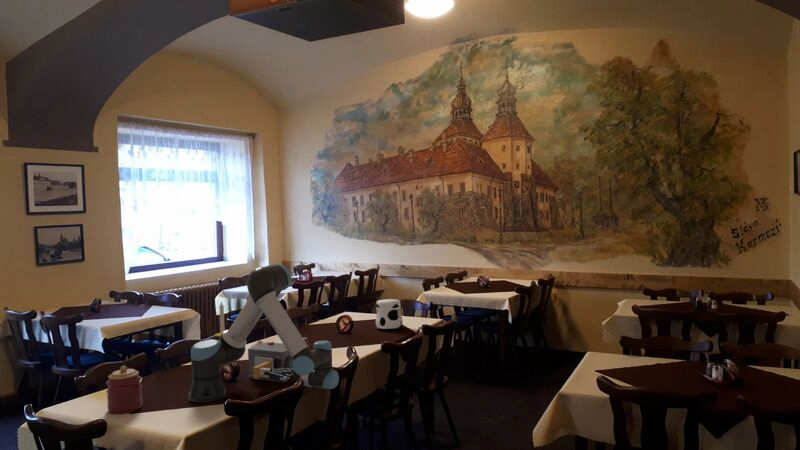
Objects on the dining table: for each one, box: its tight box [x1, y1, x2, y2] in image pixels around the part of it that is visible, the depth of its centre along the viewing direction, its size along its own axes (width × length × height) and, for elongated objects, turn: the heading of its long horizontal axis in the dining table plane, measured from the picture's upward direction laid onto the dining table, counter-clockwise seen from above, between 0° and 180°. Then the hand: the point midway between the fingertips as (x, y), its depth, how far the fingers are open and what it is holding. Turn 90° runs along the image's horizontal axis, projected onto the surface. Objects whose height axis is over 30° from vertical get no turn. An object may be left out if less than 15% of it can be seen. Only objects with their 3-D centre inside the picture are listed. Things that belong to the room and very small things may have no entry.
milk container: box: [375, 298, 403, 331], centre depth 369 cm, size 17×17×18 cm
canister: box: [105, 365, 144, 415], centre depth 234 cm, size 13×13×18 cm
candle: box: [213, 301, 226, 337], centre depth 299 cm, size 10×10×32 cm
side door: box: [253, 356, 274, 380], centre depth 260 cm, size 12×10×9 cm
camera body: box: [247, 341, 294, 383], centre depth 272 cm, size 15×22×15 cm
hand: (260, 371), depth 254 cm, fingers closed
